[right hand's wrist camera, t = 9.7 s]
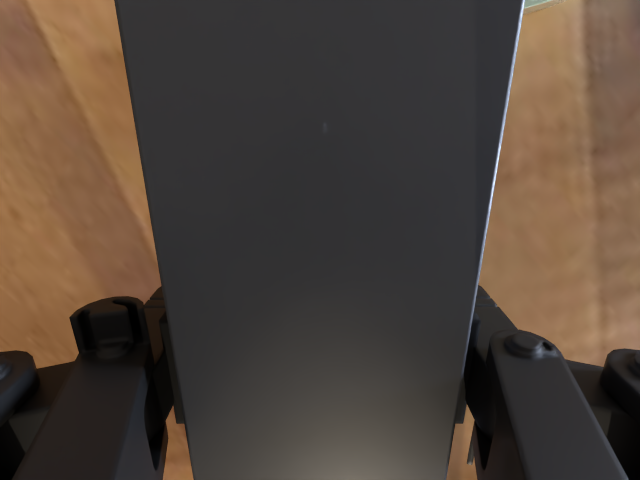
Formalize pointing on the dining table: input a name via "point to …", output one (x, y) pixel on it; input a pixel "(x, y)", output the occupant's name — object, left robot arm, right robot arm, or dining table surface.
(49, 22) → the dining table surface
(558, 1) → the sage cube
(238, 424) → the bar
